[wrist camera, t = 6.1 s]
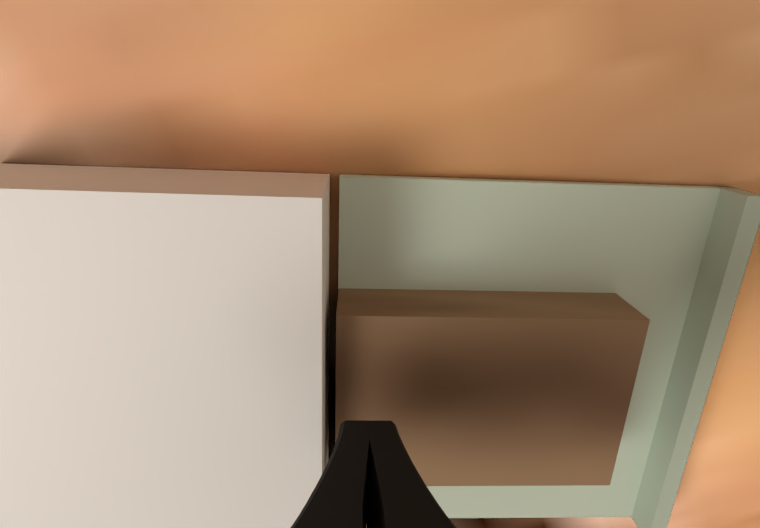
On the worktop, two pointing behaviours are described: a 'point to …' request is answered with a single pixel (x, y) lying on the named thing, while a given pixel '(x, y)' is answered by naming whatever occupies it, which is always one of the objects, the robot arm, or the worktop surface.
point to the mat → (572, 274)
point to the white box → (162, 346)
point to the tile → (492, 380)
